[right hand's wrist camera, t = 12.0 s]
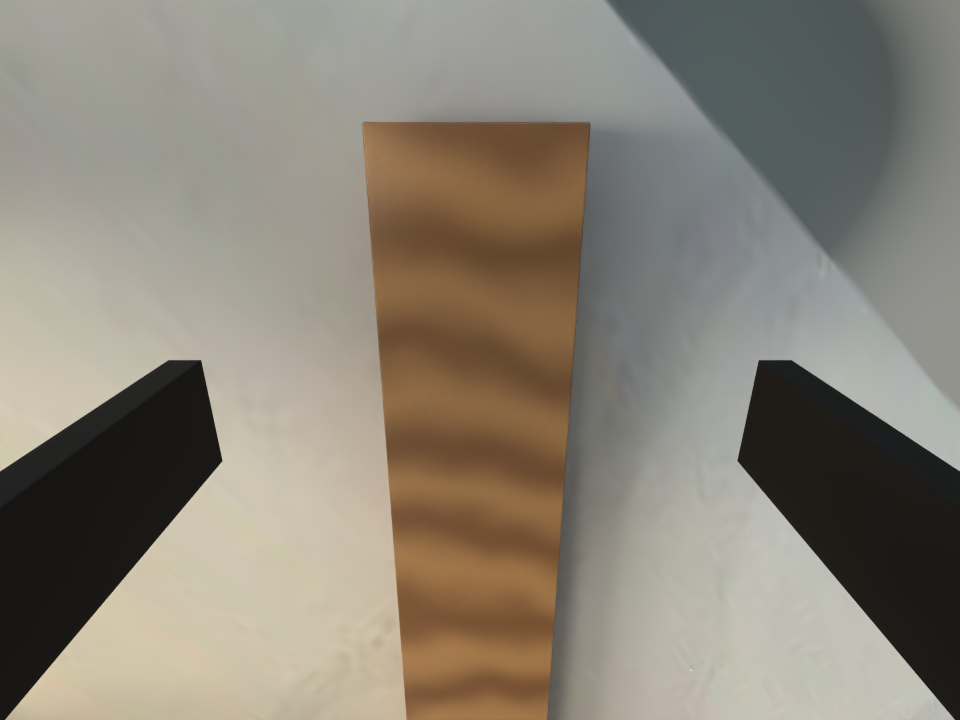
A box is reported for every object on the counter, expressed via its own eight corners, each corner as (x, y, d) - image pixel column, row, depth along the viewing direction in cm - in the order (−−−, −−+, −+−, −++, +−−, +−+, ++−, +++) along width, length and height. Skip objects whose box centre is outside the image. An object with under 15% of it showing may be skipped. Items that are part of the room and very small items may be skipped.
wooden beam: (389, 129, 28) (361, 122, 22) (565, 129, 28) (591, 122, 22) (434, 907, 57) (427, 1005, 50) (521, 907, 57) (526, 1005, 50)
